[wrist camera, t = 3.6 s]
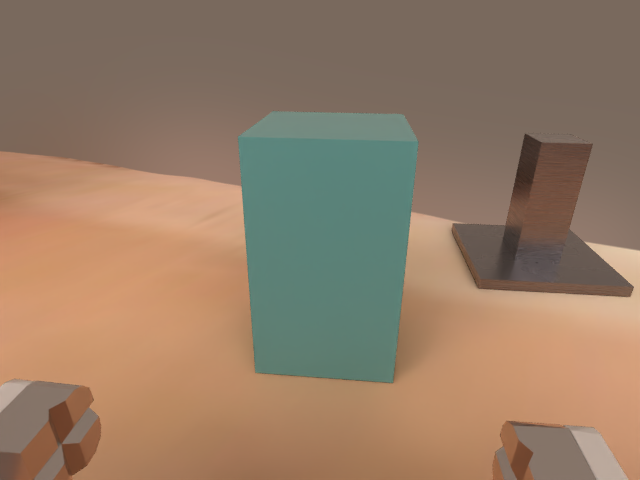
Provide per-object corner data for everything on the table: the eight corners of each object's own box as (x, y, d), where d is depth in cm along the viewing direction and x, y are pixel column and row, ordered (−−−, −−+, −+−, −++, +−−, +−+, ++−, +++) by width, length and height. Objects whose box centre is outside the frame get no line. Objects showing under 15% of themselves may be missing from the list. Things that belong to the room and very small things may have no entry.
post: (478, 288, 23) (504, 152, 20) (451, 231, 31) (467, 124, 27) (630, 296, 23) (682, 157, 20) (566, 236, 30) (596, 127, 27)
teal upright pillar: (255, 372, 17) (238, 136, 13) (280, 298, 22) (272, 111, 18) (392, 382, 17) (418, 141, 13) (386, 304, 22) (403, 114, 18)
